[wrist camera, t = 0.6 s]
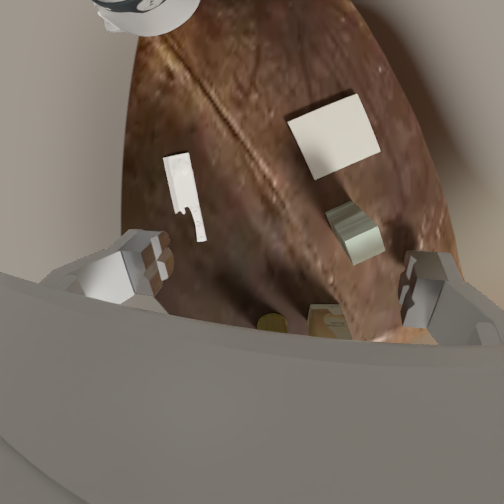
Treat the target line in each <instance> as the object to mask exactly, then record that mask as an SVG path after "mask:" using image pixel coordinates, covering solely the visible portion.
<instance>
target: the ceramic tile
mask: <svg viewBox="0 0 504 504" xmlns="http://www.w3.org/2000/svg"><path fill="white" fill-rule="evenodd" d="M287 123H288V125H289V127H290V129H291V131H292V134H293V136H294V138H295V140H296V142H297V144H298V146H299V148H300V150H301V152H302V155H303V157H304V159H305V161H306V163H307V165H308V168H309V170H310V172H311V174H312V176H313V179H314V180H317V179H319V178H321V177H323V176H325V175H328V174H330V173H332V172H334V171H337V170H339V169H341V168H343V167H346V166H348V165H350V164H353V163H355V162H357V161H359V160H362V159H364V158H366V157H369V156H371V155H373V154H376V153H378V152H380V148H379V146H378V143H377V140H376V138H375V135H374V132H373V130H372V127H371V125H370V122H369V120H368V117H367V115H366V113H365V110H364V108H363V106H362V103H361V101H360V99H359V96H358V94H354V95H351V96H348V97H346V98H343V99H340V100H338V101H335V102H333V103H330V104H328V105H325V106H323V107H321V108H318V109H316V110H313V111H311V112H309V113H306V114H304V115H302V116H299V117H297V118H295V119H292V120H290V121H288V122H287Z"/></svg>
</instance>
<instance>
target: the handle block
mask: <svg viewBox="0 0 504 504" xmlns="http://www.w3.org/2000/svg"><path fill="white" fill-rule="evenodd" d="M325 214H326V216H327V219H328V221H329V224H330V226H331V228H332V231H333V233H334V235H335V236H336V238H337V239H338V241H339V243H340V244H341V246H342V247H343V249H344V251H345V252H346V254H347V256H348V257H349V259H350V261H351V262H352V264H353V266H354V265H356V264H358V263H360V262H362V261H364V260H367V259H369V258H371V257H373V256H375V255H377V254H379V253H381V252H384V251H385V248H384V244H383V241H382V238H381V235H380V231H379V228H378V226H377V225H376V224H375V223H374V222H373V221H372V220H371V219H370V218H369V217H368V216H367V215H366V214H365V213H364V212H363V211H362V210H361V209H360V208H359V207H358V206H357V205H356V204H355V203H354V202H353V201H352V200H351V201H349V202H346V203H344V204H342V205H340V206H338V207H335V208H333V209H331V210H329V211H327V212H325Z"/></svg>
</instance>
